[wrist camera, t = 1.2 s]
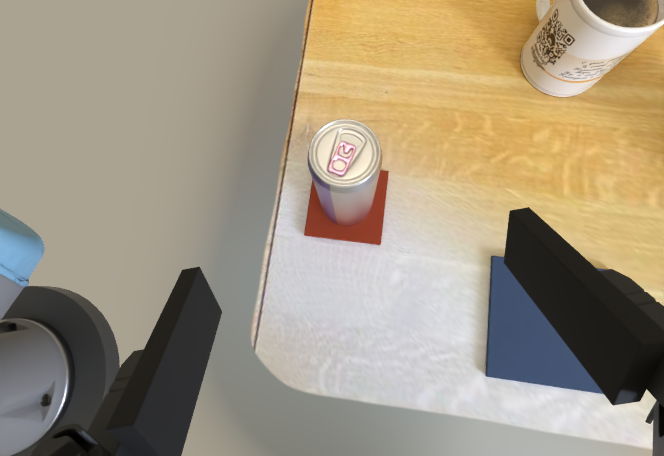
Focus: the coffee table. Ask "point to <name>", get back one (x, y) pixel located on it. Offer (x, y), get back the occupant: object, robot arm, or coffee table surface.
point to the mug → (585, 41)
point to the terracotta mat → (359, 232)
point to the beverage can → (345, 169)
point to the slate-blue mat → (527, 339)
